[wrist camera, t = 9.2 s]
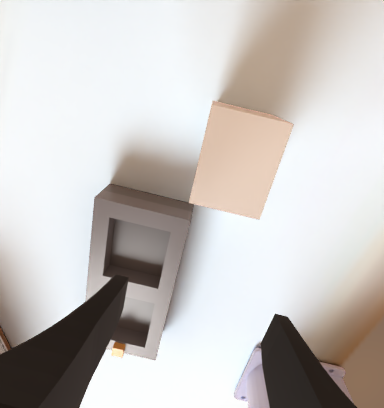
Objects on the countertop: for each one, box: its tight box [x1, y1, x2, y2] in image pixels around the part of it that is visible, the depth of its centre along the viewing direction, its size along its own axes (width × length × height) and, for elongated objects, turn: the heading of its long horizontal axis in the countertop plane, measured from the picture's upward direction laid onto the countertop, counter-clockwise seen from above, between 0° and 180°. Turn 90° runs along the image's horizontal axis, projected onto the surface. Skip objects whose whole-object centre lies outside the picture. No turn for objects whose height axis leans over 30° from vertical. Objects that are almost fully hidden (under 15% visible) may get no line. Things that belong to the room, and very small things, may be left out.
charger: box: [189, 101, 294, 219], centre depth 17 cm, size 4×5×7 cm
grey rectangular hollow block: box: [86, 184, 194, 360], centre depth 23 cm, size 7×15×4 cm, turn 167°
